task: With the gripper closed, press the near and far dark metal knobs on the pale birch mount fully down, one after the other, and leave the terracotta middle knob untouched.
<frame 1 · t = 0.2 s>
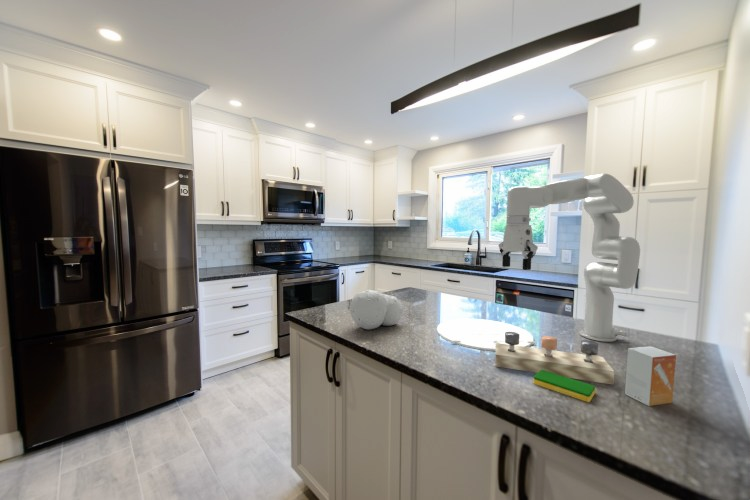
hand: (516, 268, 112), 31 cm above the counter, tool pointing down, fingers open, 9 cm apart
middle knob: (548, 348, 100), point 6 cm above the counter, slide at 0.0 cm
lazy susan: (483, 334, 133), on the counter
knob mount: (548, 367, 100), on the counter
small box: (648, 399, 82), on the counter
near knob: (588, 353, 96), point 6 cm above the counter, slide at 0.0 cm
dish sponge: (563, 390, 87), on the counter
far knob: (511, 343, 104), point 6 cm above the counter, slide at 0.0 cm
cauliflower: (375, 326, 143), on the counter
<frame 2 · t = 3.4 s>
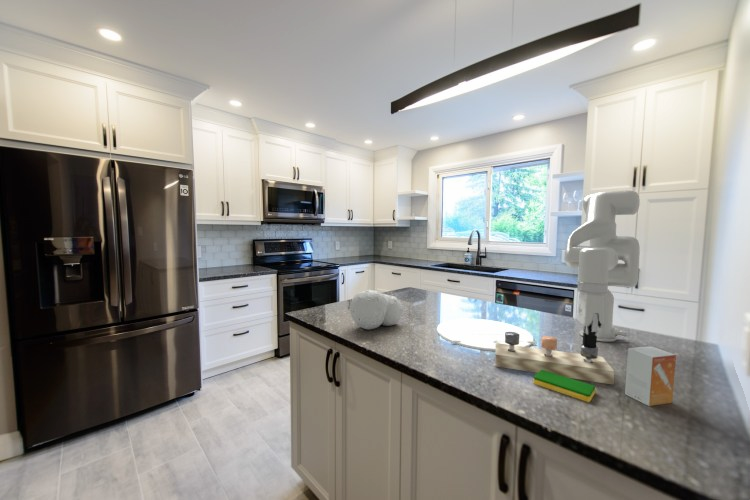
hand: (589, 346, 95), 9 cm above the counter, tool pointing down, fingers closed
near knob: (588, 357, 96), point 5 cm above the counter, slide at 1.1 cm, touching gripper
everything else where it was.
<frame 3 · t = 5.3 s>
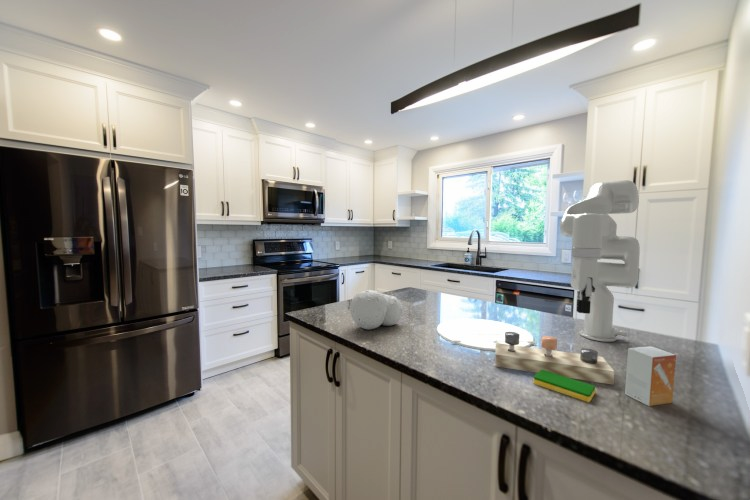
hand: (583, 312, 95), 19 cm above the counter, tool pointing down, fingers closed
near knob: (588, 361, 96), point 4 cm above the counter, slide at 2.6 cm
everything else where it was.
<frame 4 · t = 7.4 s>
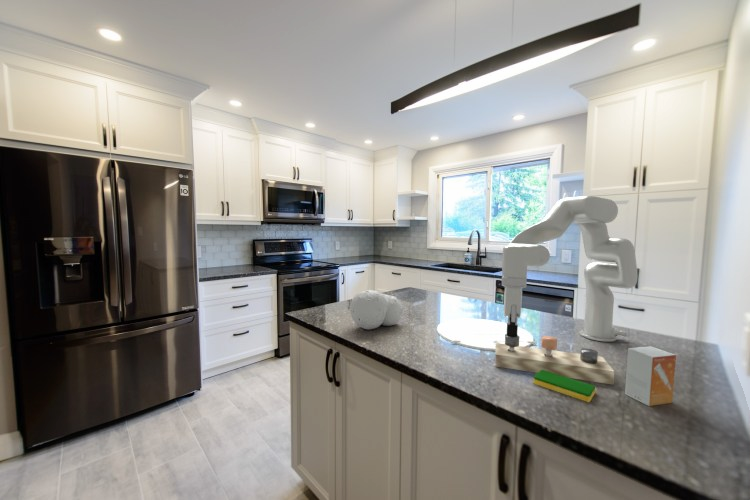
hand: (511, 335, 103), 9 cm above the counter, tool pointing down, fingers closed
far knob: (511, 345, 104), point 6 cm above the counter, slide at 0.7 cm, touching gripper
everything else where it was.
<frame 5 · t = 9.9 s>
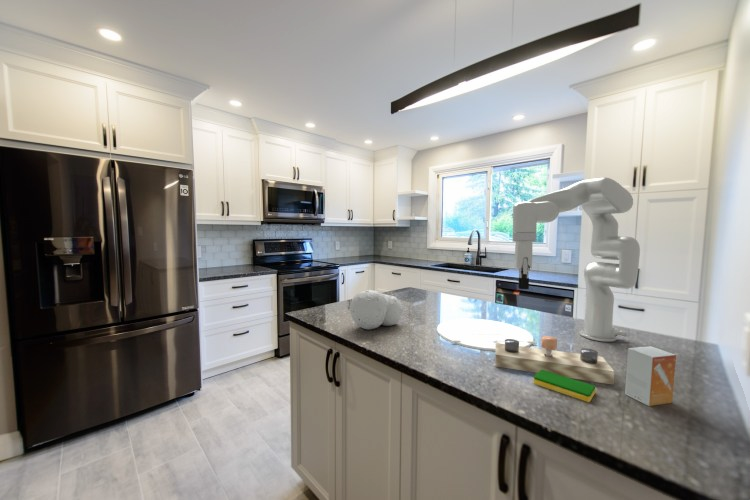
hand: (523, 288, 110), 24 cm above the counter, tool pointing down, fingers closed
far knob: (511, 351, 104), point 4 cm above the counter, slide at 2.5 cm
everything else where it was.
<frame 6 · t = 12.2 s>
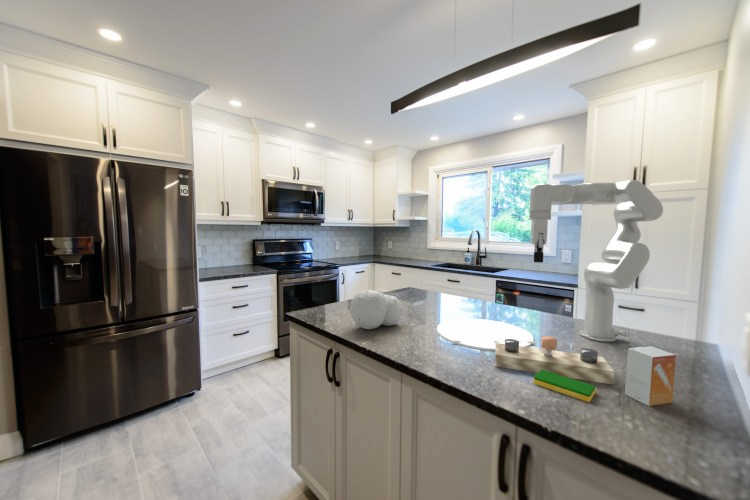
hand: (538, 262, 122), 32 cm above the counter, tool pointing down, fingers closed
nothing on the counter moved.
at the end: near knob slide at 2.6 cm; far knob slide at 2.5 cm; middle knob slide at 0.0 cm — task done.
